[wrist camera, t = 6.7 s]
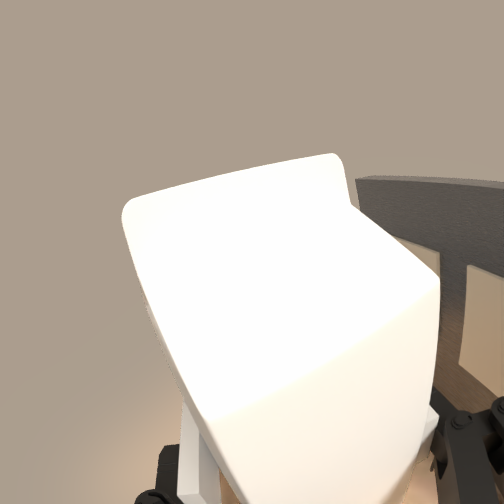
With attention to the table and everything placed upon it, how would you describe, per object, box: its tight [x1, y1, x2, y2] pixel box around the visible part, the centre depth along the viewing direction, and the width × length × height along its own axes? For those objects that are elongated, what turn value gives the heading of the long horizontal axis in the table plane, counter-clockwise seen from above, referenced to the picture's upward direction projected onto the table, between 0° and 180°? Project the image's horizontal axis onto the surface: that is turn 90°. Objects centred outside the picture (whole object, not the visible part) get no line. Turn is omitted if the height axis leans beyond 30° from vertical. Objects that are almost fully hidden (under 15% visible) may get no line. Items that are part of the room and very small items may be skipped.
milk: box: [122, 153, 440, 504], centre depth 10 cm, size 6×6×22 cm
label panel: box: [355, 176, 504, 504], centre depth 17 cm, size 8×26×20 cm, turn 7°
